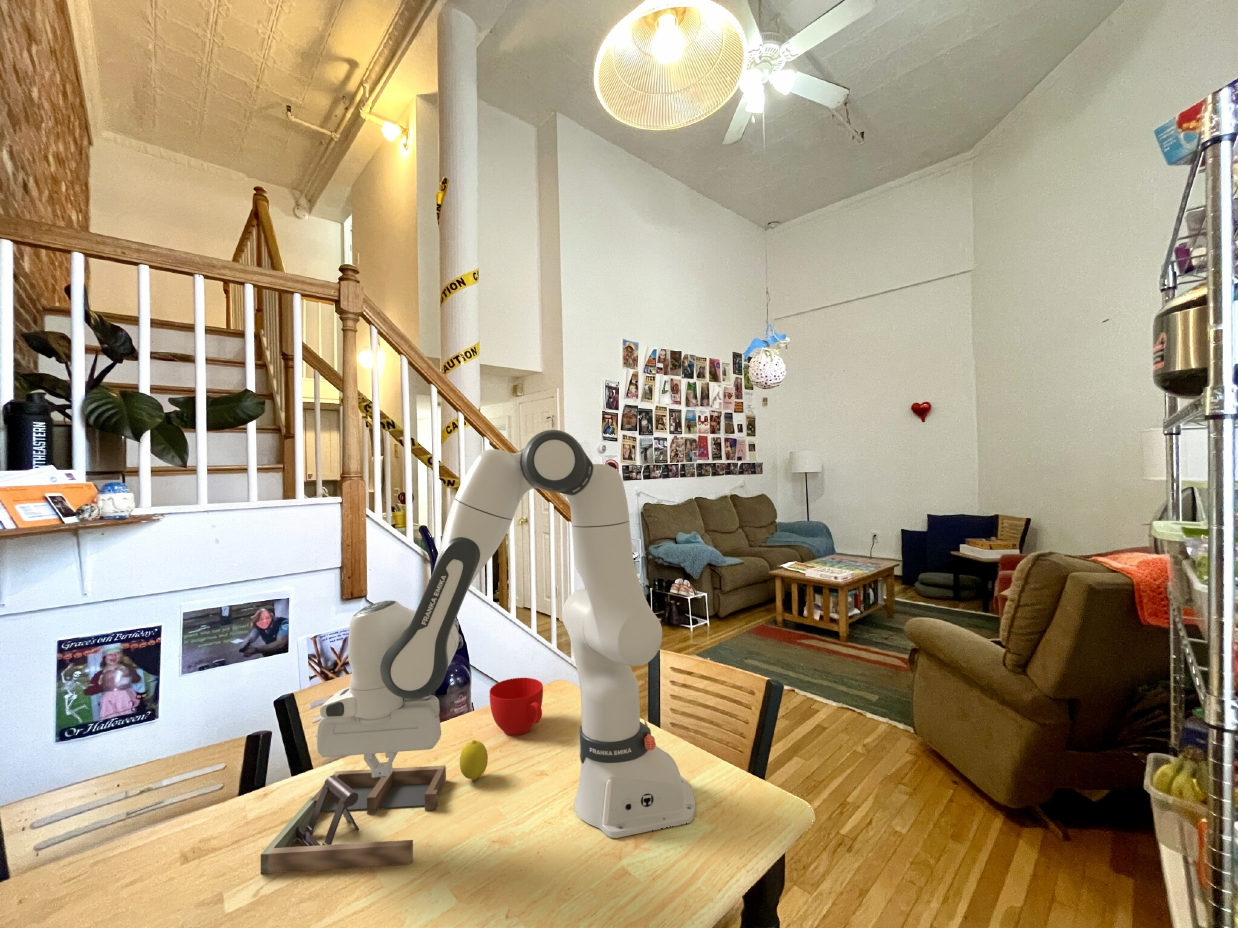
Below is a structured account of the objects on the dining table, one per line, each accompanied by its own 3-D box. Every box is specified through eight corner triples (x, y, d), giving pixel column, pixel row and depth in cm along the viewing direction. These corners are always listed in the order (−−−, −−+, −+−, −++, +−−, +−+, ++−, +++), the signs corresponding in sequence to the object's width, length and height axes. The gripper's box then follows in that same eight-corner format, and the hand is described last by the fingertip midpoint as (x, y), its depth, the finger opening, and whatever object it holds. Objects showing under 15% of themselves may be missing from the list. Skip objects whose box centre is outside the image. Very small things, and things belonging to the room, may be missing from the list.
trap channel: (449, 779, 104) (449, 765, 104) (410, 863, 81) (410, 844, 81) (333, 786, 102) (333, 771, 102) (260, 873, 80) (260, 854, 80)
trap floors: (438, 783, 102) (438, 782, 102) (426, 806, 95) (426, 804, 95) (339, 789, 101) (339, 787, 101) (320, 812, 94) (320, 810, 94)
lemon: (480, 789, 100) (479, 748, 101) (454, 786, 101) (454, 746, 102) (492, 773, 106) (492, 734, 106) (468, 770, 107) (467, 732, 107)
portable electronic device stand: (295, 839, 87) (295, 790, 88) (342, 815, 94) (342, 769, 94) (316, 863, 82) (315, 810, 82) (365, 835, 88) (364, 786, 88)
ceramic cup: (516, 755, 112) (515, 710, 113) (480, 728, 125) (479, 687, 125) (563, 734, 121) (562, 692, 121) (525, 711, 134) (525, 673, 134)
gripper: (444, 684, 92) (447, 760, 92) (329, 692, 91) (332, 768, 91) (433, 700, 86) (436, 781, 86) (309, 708, 85) (313, 791, 85)
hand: (382, 775), depth 89 cm, fingers closed
